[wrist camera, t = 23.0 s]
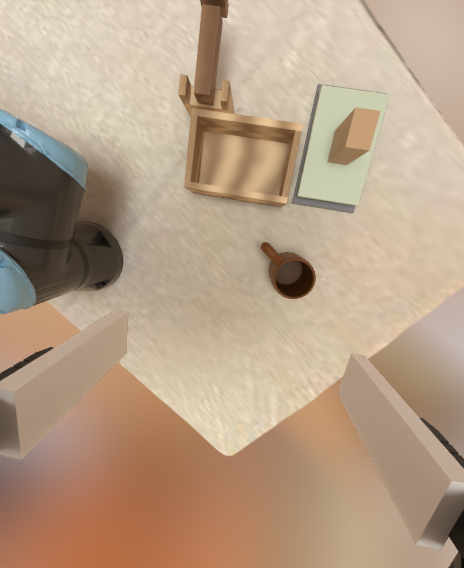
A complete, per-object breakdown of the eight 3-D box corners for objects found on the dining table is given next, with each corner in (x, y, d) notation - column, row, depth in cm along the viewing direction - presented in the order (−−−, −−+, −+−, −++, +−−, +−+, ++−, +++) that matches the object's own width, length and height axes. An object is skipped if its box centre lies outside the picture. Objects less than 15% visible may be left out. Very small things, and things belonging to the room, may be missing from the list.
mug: (247, 253, 48) (246, 259, 39) (274, 228, 47) (280, 228, 37) (284, 293, 50) (291, 308, 41) (311, 270, 48) (325, 280, 39)
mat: (292, 203, 45) (292, 203, 45) (317, 85, 40) (318, 84, 40) (352, 212, 45) (353, 212, 44) (386, 94, 39) (387, 93, 39)
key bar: (194, 102, 35) (189, 91, 32) (204, 2, 32) (200, -21, 29) (216, 105, 35) (213, 94, 32) (228, 5, 32) (226, -17, 29)
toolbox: (188, 192, 46) (171, 182, 36) (197, 110, 42) (180, 74, 32) (281, 206, 45) (289, 201, 35) (297, 125, 42) (313, 92, 32)
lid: (318, 92, 40) (340, 48, 30) (382, 101, 39) (426, 59, 30) (295, 197, 44) (308, 188, 34) (352, 206, 44) (382, 200, 34)
